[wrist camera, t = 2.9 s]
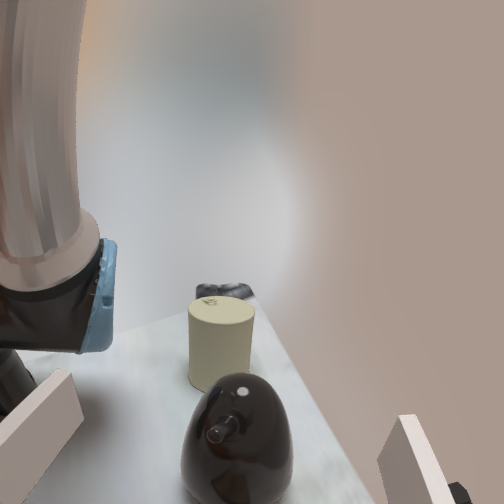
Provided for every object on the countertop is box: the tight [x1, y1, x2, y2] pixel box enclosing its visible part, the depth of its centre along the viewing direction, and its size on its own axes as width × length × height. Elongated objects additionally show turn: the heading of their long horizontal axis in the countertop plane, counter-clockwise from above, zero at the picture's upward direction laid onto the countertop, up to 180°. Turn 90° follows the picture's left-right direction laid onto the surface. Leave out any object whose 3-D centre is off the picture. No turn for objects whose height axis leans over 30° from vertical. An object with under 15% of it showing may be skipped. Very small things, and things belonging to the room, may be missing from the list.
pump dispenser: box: [181, 372, 293, 504], centre depth 22 cm, size 10×10×15 cm
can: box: [188, 296, 255, 392], centre depth 43 cm, size 9×9×12 cm
